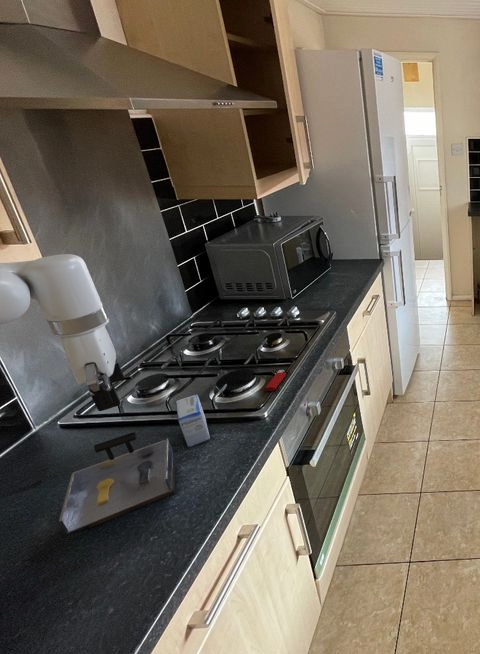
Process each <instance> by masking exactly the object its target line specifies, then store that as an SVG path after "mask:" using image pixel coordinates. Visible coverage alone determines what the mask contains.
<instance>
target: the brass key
mask: <svg viewBox="0 0 480 654" xmlns="http://www.w3.org/2000/svg"><path fill="white" fill-rule="evenodd" d="M113 483H114V480H113V479H112V478H108V479H105V480H103V481H101V482H100V483H99V484H98V485H97V489H98V490H99V494H98V499H97V504H98V505H99V504H101V503H104V502H106V501H108V495H109V489H110V486H111V485H112V484H113Z"/></svg>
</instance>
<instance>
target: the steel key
mask: <svg viewBox="0 0 480 654" xmlns="http://www.w3.org/2000/svg"><path fill="white" fill-rule="evenodd" d="M152 465H153V463H152V461H145V462H143V463H141V464H140V465H139V466H138V467H137V469H138V471H139V472H140V476H139V485H140V484H143V483H146V482H148V481H149V469H150V468H151V467H152Z"/></svg>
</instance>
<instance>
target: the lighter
mask: <svg viewBox="0 0 480 654" xmlns="http://www.w3.org/2000/svg"><path fill="white" fill-rule="evenodd" d="M287 374H288V372H287V371H285V370H284V369H279V370H278V371H277V372H276V373H275V374H274V376H273V377H272V378H271V380H269V382H268V384H266V386H265V387H264V391H266V392H275V390H277V388H278V387H279V385H281V383H282V382H283V380H284V379H285V377H286V376H287Z"/></svg>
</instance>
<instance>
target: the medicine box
mask: <svg viewBox="0 0 480 654" xmlns="http://www.w3.org/2000/svg"><path fill="white" fill-rule="evenodd" d="M175 407H176V416H177V421H178V424H179V427H180V429H181V433H182V436H183V438H184V440H185V443H186V446H187V447H188V448H191V447H193V446H196V445H198V444H201V443H204V442H206V441H208V440H210V439H211V436H210V432H209V428H208V423H207V418H206V416H205V413H204V410H203V409H204V408H203V406H202V403H201V401H200V397H199V395H198V394H194V395H190V396H187V397H183V398H181V399H178V400H176V401H175Z"/></svg>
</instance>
